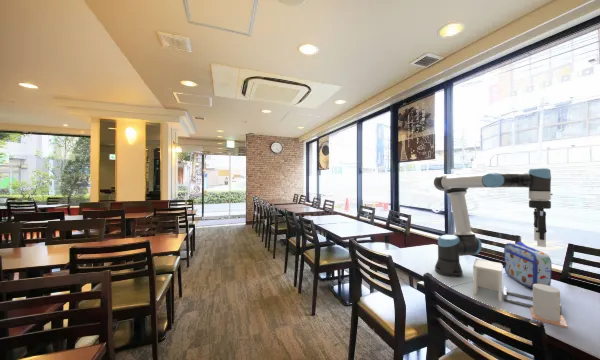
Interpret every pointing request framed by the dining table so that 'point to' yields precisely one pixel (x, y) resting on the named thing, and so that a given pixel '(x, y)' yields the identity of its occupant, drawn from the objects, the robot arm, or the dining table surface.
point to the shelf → (487, 276)
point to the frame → (519, 296)
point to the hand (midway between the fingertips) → (539, 243)
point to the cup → (546, 302)
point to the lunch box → (527, 264)
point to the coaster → (558, 323)
